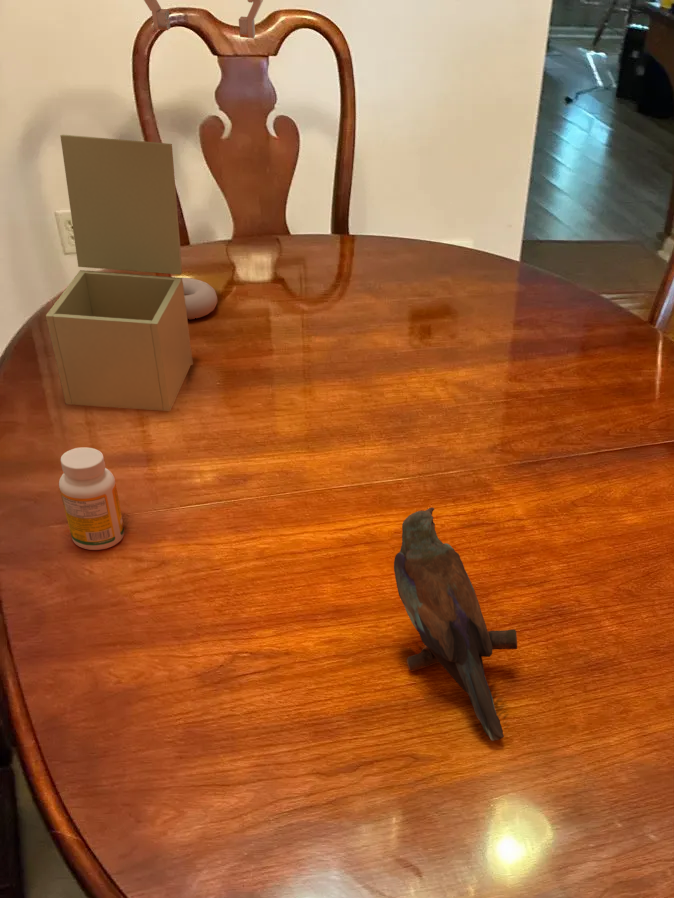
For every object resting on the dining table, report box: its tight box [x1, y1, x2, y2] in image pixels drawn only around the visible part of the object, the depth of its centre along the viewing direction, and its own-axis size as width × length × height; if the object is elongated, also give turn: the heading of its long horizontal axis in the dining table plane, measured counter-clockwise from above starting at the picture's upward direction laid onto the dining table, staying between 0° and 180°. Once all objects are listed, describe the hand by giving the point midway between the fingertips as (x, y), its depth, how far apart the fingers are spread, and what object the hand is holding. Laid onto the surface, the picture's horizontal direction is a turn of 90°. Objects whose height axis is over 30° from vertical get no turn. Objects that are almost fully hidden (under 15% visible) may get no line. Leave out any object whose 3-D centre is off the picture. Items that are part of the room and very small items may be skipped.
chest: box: [45, 269, 194, 412], centre depth 119 cm, size 14×13×13 cm
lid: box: [60, 134, 183, 275], centre depth 116 cm, size 15×13×1 cm
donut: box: [181, 277, 218, 321], centre depth 142 cm, size 10×4×10 cm
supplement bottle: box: [58, 446, 125, 551], centre depth 98 cm, size 5×5×10 cm
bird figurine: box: [393, 507, 518, 742], centre depth 87 cm, size 13×10×20 cm
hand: (205, 33), depth 108 cm, fingers open, 8 cm apart
